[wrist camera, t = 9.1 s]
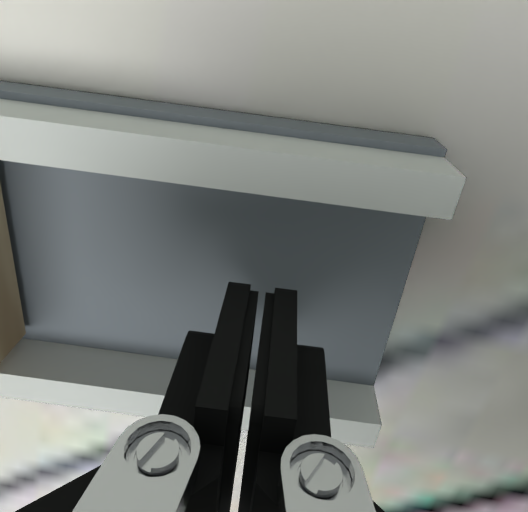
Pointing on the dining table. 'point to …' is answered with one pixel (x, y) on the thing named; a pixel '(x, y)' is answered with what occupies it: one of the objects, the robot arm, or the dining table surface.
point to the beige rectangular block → (8, 292)
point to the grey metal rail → (202, 241)
